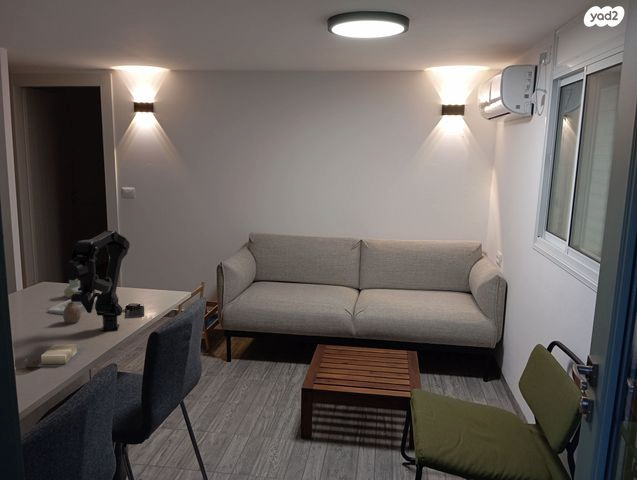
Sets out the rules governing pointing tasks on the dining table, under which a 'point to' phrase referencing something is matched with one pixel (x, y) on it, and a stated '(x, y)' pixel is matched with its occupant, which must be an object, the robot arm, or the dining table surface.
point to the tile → (59, 354)
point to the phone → (135, 313)
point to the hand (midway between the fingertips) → (89, 312)
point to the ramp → (60, 307)
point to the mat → (79, 351)
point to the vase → (71, 313)
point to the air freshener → (72, 288)
